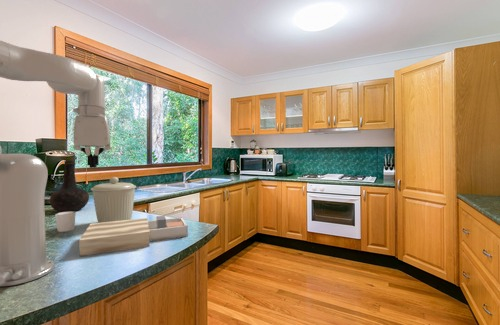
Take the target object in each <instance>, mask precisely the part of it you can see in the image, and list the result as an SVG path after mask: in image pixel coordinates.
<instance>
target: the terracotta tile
mask: <svg viewBox="0 0 500 325" xmlns="http://www.w3.org/2000/svg"><path fill="white" fill-rule="evenodd" d="M177 226H184V225H183V223H182V222H181V221H180V222H172V223H166V228H169V227H177Z"/></svg>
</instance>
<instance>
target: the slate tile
mask: <svg viewBox="0 0 500 325" xmlns="http://www.w3.org/2000/svg"><path fill="white" fill-rule="evenodd" d="M155 218H156V219H155V220H156V225H157V229H160V228H166V219H167V218H166V216H165V215H159V216H155Z"/></svg>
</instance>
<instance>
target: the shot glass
mask: <svg viewBox="0 0 500 325" xmlns="http://www.w3.org/2000/svg"><path fill="white" fill-rule="evenodd" d="M55 221H56V222H55V223H56V229H57V232H59V233H63V232H70V231H72V230H75V224H76V211H69V212H58V213H55Z"/></svg>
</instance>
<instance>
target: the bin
mask: <svg viewBox="0 0 500 325" xmlns="http://www.w3.org/2000/svg"><path fill="white" fill-rule="evenodd" d="M180 221H181V222H182V223H183V225H184V226H177V227H169V228H160V229H157V225H156V219H154V220H148V226H149V242H156V241H163V240H170V239H177V238H178V239H179V238H184V237H188V236H189V231H188V226H189V225H188V224H187V222H186V221H185V220H184V218H183V217H172V218H166V223H172V222H180Z"/></svg>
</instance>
